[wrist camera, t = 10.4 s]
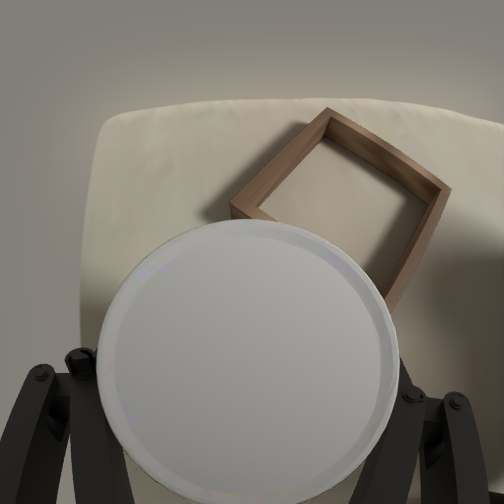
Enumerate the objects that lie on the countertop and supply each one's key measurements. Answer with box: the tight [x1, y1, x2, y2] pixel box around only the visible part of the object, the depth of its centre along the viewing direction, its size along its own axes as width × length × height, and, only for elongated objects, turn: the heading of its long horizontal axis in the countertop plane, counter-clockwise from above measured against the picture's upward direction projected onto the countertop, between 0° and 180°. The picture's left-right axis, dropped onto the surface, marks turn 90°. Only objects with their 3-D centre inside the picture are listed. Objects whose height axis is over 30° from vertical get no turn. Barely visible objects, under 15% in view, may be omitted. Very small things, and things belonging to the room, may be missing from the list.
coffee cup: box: [96, 219, 400, 504], centre depth 13 cm, size 9×9×12 cm
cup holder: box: [229, 107, 452, 314], centre depth 26 cm, size 15×15×3 cm
